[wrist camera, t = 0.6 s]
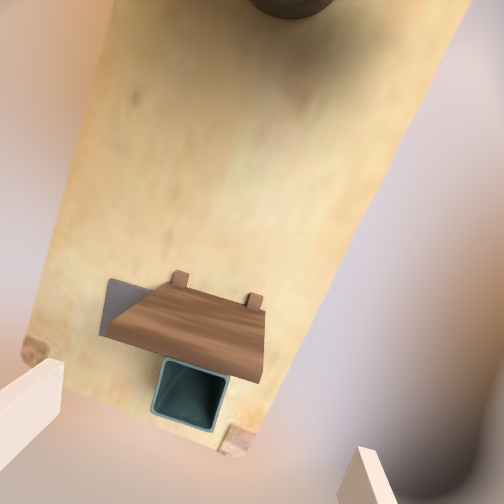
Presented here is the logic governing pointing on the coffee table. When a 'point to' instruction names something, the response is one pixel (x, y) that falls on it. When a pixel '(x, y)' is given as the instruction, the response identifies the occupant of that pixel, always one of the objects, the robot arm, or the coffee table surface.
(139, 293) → the mat
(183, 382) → the flower pot
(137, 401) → the coffee table surface
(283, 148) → the coffee table surface
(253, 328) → the screen
